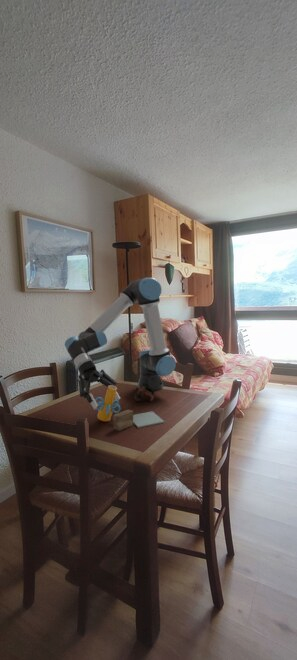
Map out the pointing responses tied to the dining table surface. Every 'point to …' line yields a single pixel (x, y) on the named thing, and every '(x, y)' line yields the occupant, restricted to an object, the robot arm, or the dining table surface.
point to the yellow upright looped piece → (107, 404)
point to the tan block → (123, 420)
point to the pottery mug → (144, 389)
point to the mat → (146, 419)
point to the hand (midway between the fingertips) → (107, 403)
